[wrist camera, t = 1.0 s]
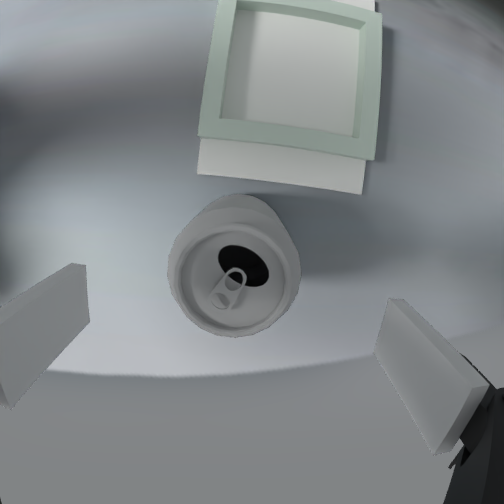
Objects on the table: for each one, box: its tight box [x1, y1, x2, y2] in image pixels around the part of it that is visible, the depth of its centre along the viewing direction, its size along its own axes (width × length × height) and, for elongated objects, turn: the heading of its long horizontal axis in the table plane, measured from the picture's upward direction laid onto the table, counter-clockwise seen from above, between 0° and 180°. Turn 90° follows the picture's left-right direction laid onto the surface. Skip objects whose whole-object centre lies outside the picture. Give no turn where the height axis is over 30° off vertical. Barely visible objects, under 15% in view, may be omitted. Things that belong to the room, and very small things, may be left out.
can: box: [167, 194, 302, 338], centre depth 22 cm, size 8×8×12 cm
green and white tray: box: [197, 0, 382, 195], centre depth 23 cm, size 14×20×2 cm
